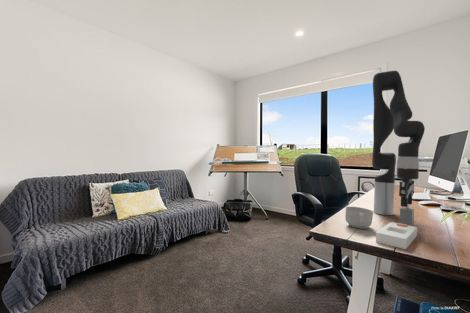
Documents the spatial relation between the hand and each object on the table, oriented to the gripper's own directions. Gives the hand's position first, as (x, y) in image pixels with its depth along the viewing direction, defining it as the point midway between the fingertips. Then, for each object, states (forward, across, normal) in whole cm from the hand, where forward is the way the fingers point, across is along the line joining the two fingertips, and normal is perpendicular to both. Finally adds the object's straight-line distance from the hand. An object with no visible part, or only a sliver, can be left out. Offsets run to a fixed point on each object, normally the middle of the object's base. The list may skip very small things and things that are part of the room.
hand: (406, 205), depth 101 cm
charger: (+11, -1, 0) cm, 11 cm away
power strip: (+11, +15, 0) cm, 19 cm away
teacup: (+11, +12, -14) cm, 22 cm away
